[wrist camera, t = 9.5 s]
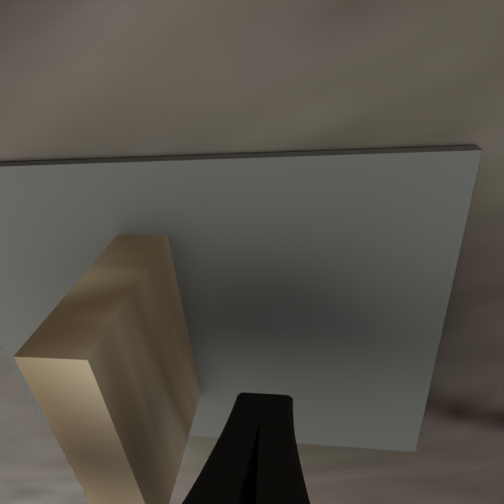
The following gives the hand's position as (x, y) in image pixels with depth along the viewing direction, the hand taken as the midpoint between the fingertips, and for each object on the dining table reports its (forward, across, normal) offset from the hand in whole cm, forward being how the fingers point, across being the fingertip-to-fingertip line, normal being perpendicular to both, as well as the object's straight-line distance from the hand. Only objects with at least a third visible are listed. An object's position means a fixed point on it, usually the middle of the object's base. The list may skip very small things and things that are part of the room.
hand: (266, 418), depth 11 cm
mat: (+4, +3, 0) cm, 5 cm away
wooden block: (+3, +4, 0) cm, 5 cm away
